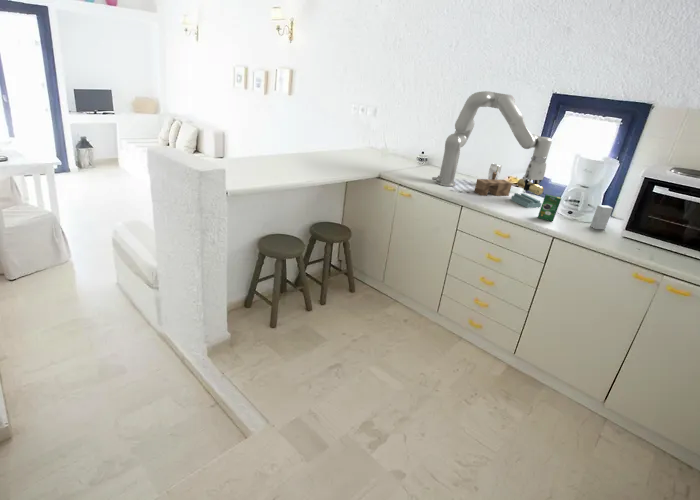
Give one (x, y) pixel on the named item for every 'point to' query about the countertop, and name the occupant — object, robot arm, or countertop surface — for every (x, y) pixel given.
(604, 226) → the skincare box
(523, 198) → the v block
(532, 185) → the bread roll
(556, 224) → the countertop surface
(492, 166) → the beer glass
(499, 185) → the beam
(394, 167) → the countertop surface
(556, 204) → the coffee box
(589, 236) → the countertop surface
